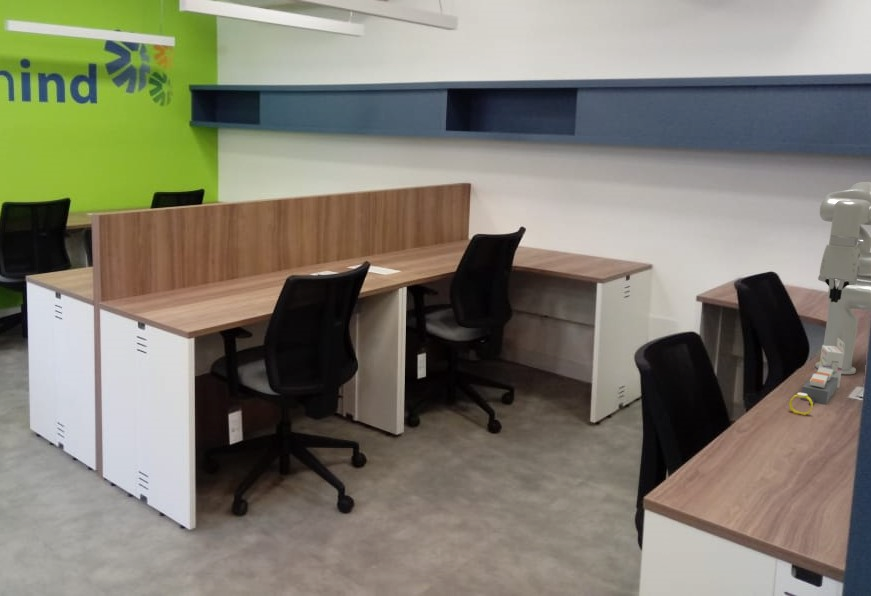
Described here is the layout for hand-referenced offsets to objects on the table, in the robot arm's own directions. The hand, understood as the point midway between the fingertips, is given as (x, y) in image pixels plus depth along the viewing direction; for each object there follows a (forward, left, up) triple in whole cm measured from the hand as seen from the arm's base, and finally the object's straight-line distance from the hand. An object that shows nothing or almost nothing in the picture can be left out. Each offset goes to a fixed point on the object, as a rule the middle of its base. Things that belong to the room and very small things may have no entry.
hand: (834, 301), depth 241 cm
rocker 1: (-1, 0, -24) cm, 24 cm away
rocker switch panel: (+5, 0, -29) cm, 30 cm away
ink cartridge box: (-12, 0, -29) cm, 32 cm away
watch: (+26, -1, -29) cm, 39 cm away
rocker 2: (+8, 0, -24) cm, 25 cm away
